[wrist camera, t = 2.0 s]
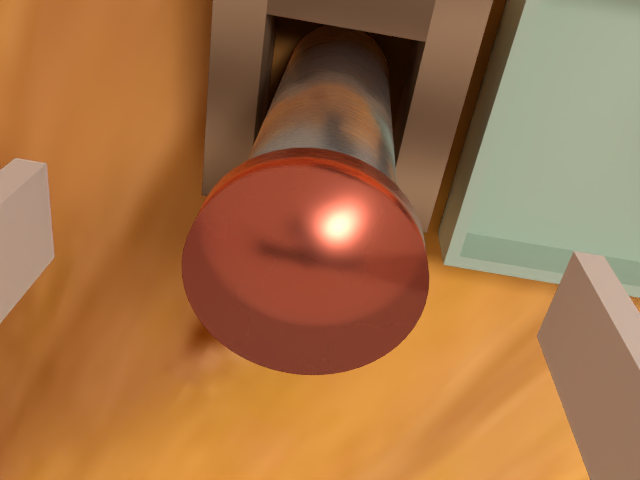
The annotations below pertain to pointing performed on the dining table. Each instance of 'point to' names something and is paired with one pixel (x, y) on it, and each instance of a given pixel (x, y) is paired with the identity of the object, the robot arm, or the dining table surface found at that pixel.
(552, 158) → the tray
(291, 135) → the pin
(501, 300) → the dining table surface
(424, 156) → the socket block
